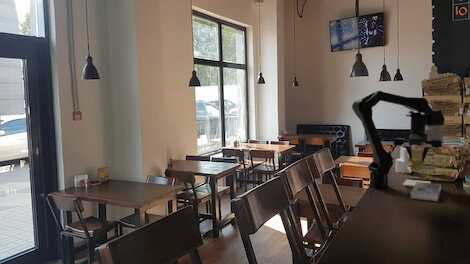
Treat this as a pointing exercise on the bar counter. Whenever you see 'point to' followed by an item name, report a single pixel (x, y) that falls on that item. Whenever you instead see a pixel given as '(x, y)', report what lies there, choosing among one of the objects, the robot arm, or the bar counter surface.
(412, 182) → the pad
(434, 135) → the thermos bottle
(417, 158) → the square peg
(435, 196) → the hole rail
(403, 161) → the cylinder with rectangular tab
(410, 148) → the robot arm
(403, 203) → the bar counter surface
